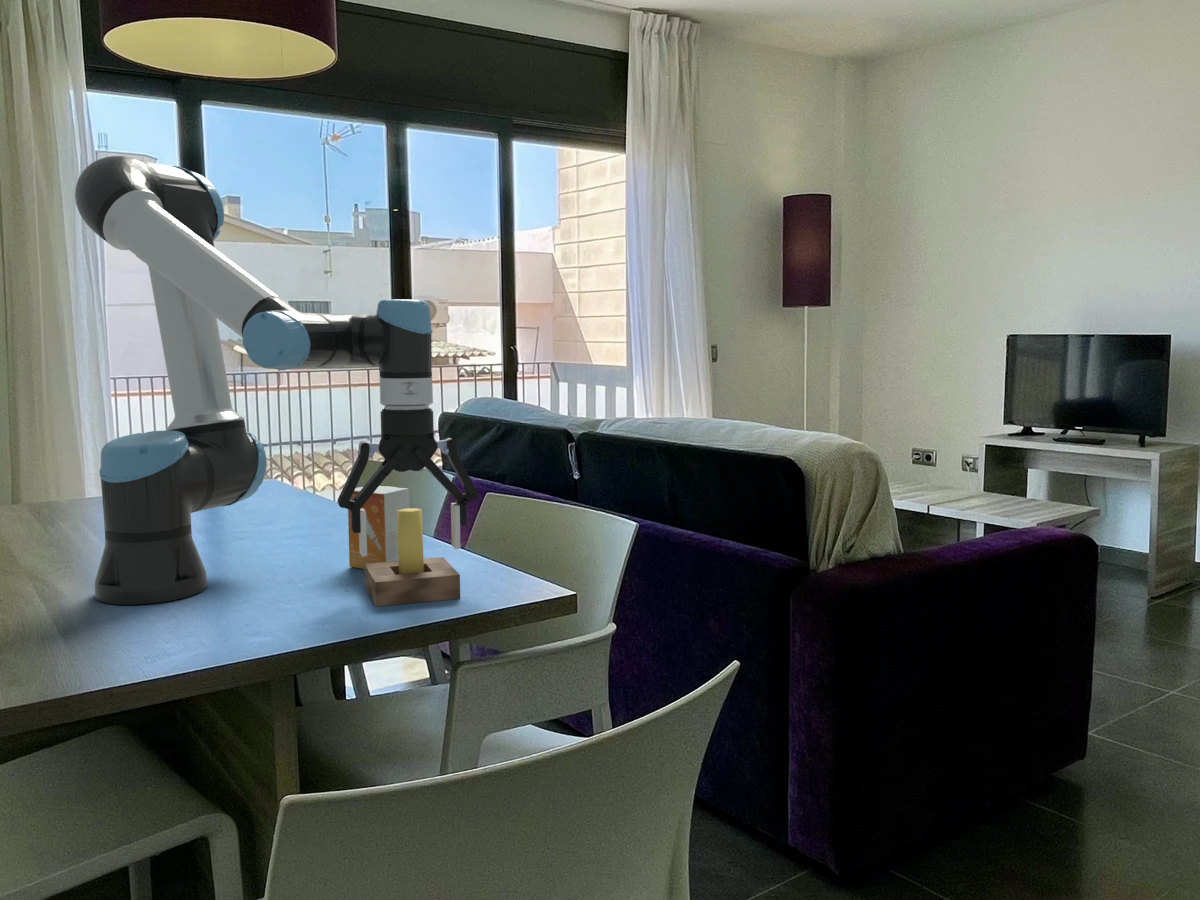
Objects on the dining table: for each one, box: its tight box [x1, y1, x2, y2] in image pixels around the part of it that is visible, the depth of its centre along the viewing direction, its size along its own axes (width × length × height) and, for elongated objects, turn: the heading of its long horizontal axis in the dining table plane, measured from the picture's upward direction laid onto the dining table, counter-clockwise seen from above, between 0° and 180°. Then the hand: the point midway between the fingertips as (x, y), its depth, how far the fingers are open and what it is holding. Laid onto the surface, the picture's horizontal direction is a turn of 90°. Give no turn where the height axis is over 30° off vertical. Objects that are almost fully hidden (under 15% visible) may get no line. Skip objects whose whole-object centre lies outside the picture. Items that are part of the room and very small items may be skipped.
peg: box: [397, 507, 424, 574], centre depth 143 cm, size 4×4×12 cm
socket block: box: [364, 556, 461, 607], centre depth 144 cm, size 12×12×4 cm
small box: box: [347, 485, 411, 570], centre depth 159 cm, size 8×6×13 cm
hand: (410, 551), depth 143 cm, fingers open, 13 cm apart
